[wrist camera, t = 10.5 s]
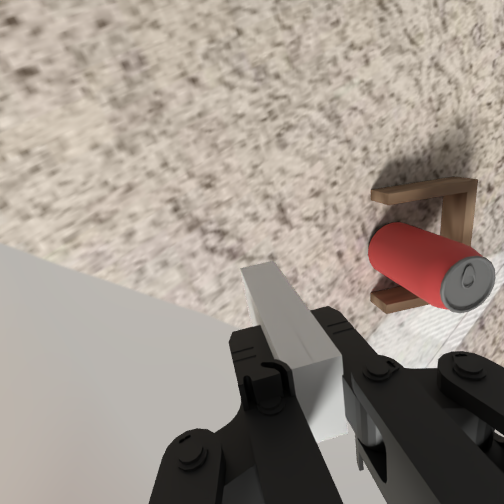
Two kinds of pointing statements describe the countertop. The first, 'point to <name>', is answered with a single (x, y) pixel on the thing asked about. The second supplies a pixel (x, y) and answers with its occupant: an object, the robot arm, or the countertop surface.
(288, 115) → the countertop surface
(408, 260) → the beer can
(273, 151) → the countertop surface
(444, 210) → the walnut bay
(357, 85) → the countertop surface
